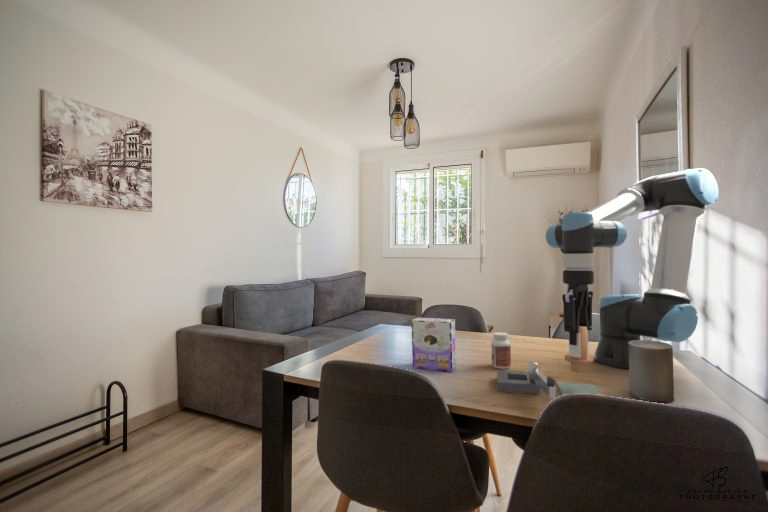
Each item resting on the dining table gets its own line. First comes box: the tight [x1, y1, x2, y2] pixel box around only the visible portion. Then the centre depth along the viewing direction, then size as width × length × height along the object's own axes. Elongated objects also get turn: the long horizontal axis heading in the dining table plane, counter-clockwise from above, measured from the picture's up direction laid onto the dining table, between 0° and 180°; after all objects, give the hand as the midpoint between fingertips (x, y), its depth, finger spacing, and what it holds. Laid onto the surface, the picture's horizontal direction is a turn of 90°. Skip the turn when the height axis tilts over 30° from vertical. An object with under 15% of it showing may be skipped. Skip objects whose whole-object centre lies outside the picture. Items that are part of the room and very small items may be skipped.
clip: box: [528, 361, 557, 400], centre depth 97 cm, size 16×2×6 cm, turn 175°
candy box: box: [410, 316, 457, 373], centre depth 127 cm, size 14×6×16 cm, turn 65°
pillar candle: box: [628, 338, 675, 403], centre depth 100 cm, size 10×10×15 cm
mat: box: [556, 382, 602, 395], centre depth 104 cm, size 10×10×1 cm
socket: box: [496, 369, 541, 395], centre depth 109 cm, size 11×11×2 cm
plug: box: [564, 326, 594, 374], centre depth 103 cm, size 7×7×12 cm
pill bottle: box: [490, 331, 512, 370], centre depth 127 cm, size 6×6×11 cm
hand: (578, 354), depth 103 cm, fingers closed on plug, 4 cm apart
